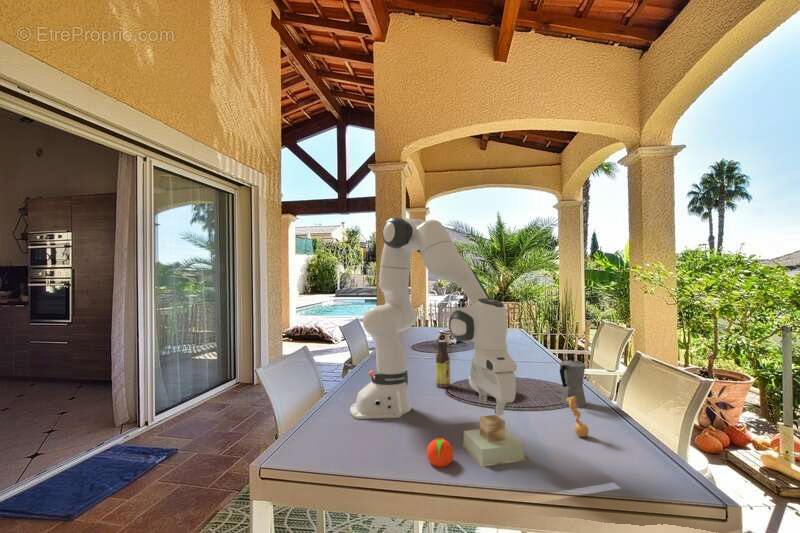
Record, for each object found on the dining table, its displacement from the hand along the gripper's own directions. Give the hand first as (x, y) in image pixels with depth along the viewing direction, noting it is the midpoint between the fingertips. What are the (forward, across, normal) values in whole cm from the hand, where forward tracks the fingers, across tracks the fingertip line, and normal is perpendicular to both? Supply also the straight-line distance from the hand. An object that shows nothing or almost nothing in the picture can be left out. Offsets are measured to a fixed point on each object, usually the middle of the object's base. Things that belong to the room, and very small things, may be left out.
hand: (490, 408), depth 107 cm
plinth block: (+12, 0, 0) cm, 12 cm away
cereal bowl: (+14, -50, +24) cm, 57 cm away
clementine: (+13, +2, -16) cm, 21 cm away
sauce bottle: (+14, -65, +9) cm, 67 cm away
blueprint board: (+13, 0, 0) cm, 13 cm away
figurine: (+13, -5, +31) cm, 34 cm away
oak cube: (+8, 0, 0) cm, 8 cm away
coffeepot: (+13, -30, +48) cm, 58 cm away
